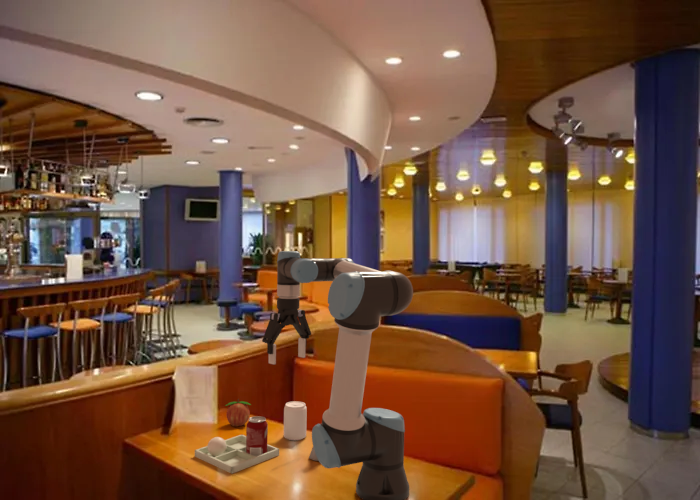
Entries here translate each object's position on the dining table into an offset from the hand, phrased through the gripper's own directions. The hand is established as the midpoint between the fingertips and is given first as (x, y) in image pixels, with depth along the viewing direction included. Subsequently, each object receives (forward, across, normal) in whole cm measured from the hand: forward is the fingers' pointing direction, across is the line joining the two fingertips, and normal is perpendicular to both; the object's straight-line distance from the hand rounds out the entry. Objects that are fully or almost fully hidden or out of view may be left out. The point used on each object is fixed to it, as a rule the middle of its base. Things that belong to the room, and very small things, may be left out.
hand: (287, 360), depth 185 cm
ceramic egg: (+30, +20, -12) cm, 37 cm away
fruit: (+31, -5, -32) cm, 45 cm away
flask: (+31, -4, +12) cm, 33 cm away
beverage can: (+31, -11, -7) cm, 34 cm away
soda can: (+30, +11, -2) cm, 32 cm away
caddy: (+31, +15, -7) cm, 35 cm away
